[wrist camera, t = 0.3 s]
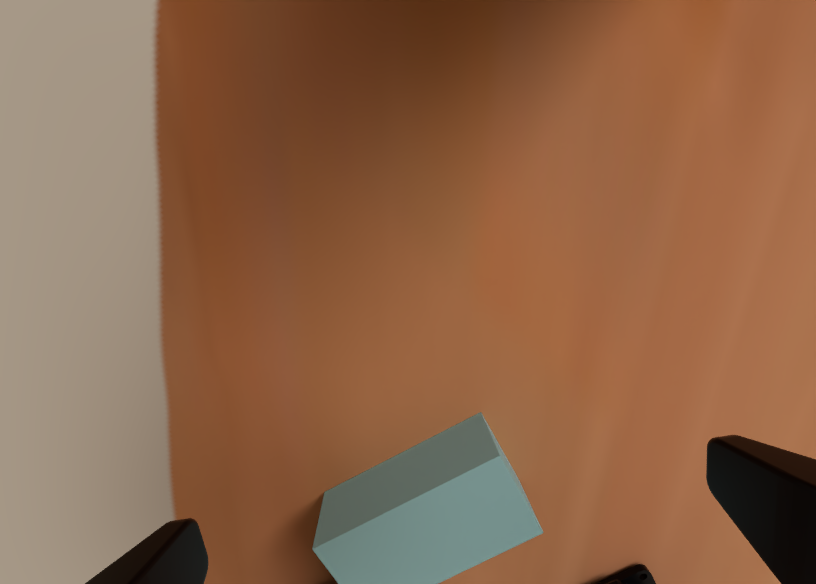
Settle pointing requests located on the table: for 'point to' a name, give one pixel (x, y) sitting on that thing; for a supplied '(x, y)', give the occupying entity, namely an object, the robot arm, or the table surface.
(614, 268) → the table surface
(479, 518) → the housing
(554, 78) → the table surface
